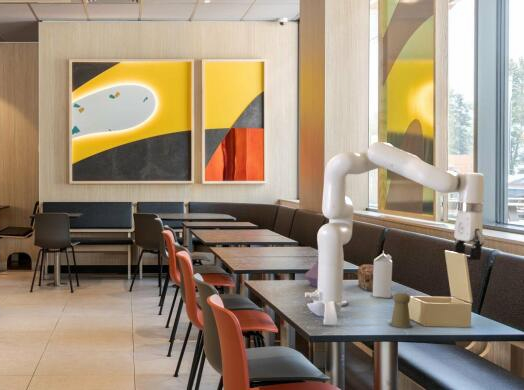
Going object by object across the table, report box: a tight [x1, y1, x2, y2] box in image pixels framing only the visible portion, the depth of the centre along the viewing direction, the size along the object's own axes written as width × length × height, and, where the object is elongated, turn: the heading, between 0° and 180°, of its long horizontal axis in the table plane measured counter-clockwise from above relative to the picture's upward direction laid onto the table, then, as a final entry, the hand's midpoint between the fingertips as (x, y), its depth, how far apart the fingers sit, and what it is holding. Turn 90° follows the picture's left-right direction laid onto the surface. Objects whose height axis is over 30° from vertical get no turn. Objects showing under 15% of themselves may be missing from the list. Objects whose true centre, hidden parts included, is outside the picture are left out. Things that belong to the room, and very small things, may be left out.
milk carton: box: [372, 250, 393, 299], centre depth 264 cm, size 7×7×19 cm
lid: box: [444, 249, 474, 304], centre depth 217 cm, size 16×13×5 cm
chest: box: [408, 295, 473, 328], centre depth 217 cm, size 16×13×8 cm
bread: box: [357, 263, 374, 292], centre depth 283 cm, size 19×11×10 cm, turn 170°
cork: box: [390, 292, 411, 329], centre depth 211 cm, size 6×6×11 cm
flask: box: [304, 257, 318, 288], centre depth 286 cm, size 16×16×20 cm
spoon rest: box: [306, 301, 342, 326], centre depth 219 cm, size 24×12×7 cm, turn 171°
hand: (467, 257), depth 217 cm, fingers open, 9 cm apart
